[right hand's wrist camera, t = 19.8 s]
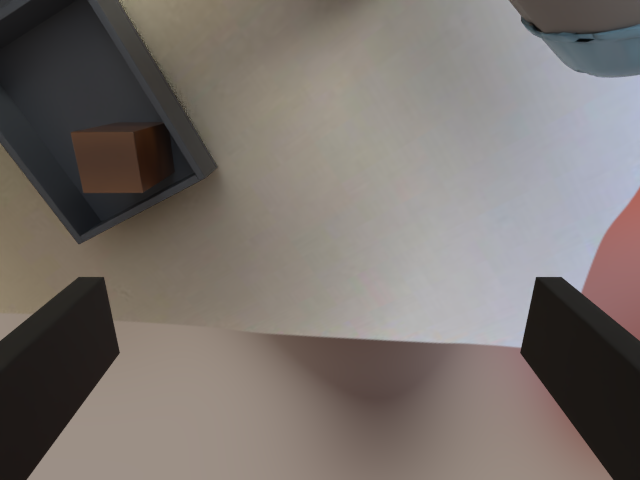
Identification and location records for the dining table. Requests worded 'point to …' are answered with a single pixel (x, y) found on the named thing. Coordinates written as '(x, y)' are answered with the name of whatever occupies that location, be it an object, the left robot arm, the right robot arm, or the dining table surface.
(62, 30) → the grey tray
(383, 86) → the dining table surface
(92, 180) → the walnut block
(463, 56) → the dining table surface
